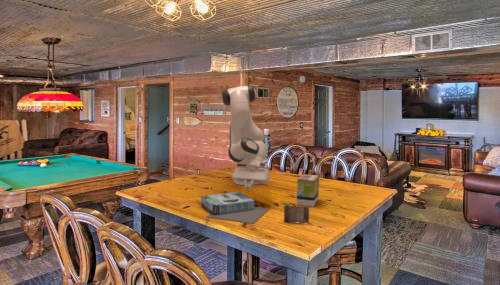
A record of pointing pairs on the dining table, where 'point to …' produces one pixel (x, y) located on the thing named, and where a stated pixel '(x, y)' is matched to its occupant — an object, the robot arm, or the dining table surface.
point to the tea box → (307, 190)
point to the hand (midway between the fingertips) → (247, 188)
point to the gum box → (227, 202)
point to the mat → (242, 215)
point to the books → (296, 213)
